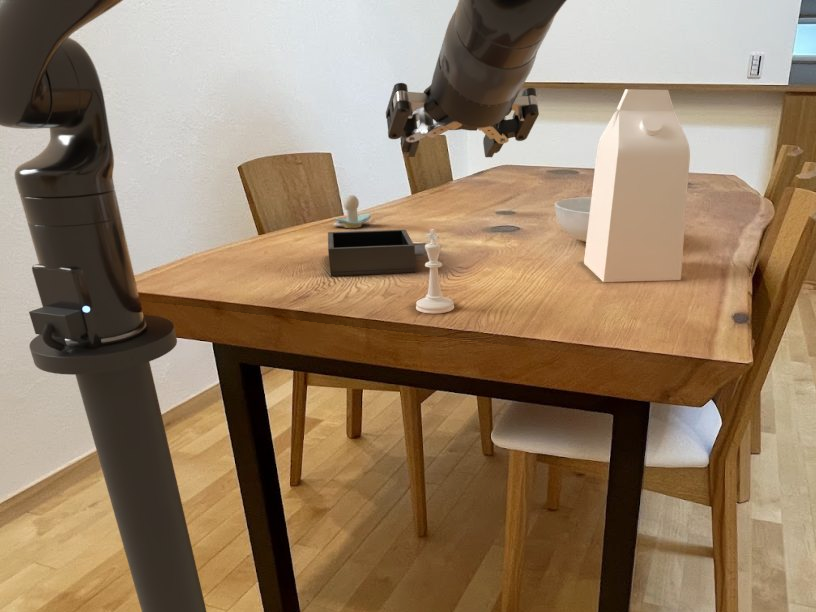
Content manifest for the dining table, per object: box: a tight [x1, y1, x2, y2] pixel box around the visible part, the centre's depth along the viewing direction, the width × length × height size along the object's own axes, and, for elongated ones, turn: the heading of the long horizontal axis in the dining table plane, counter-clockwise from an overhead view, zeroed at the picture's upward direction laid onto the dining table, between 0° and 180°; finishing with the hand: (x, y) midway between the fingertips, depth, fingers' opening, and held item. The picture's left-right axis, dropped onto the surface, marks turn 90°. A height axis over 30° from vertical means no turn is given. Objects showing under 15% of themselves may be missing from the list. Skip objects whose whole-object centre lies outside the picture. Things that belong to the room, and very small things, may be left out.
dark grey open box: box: [327, 229, 417, 277], centre depth 104 cm, size 13×13×4 cm
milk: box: [583, 88, 691, 283], centre depth 98 cm, size 12×12×26 cm
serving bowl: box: [554, 196, 592, 243], centre depth 121 cm, size 21×21×7 cm
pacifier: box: [332, 194, 371, 229], centre depth 132 cm, size 7×6×6 cm
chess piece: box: [415, 228, 455, 315], centre depth 83 cm, size 5×5×10 cm
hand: (448, 149), depth 71 cm, fingers open, 8 cm apart
